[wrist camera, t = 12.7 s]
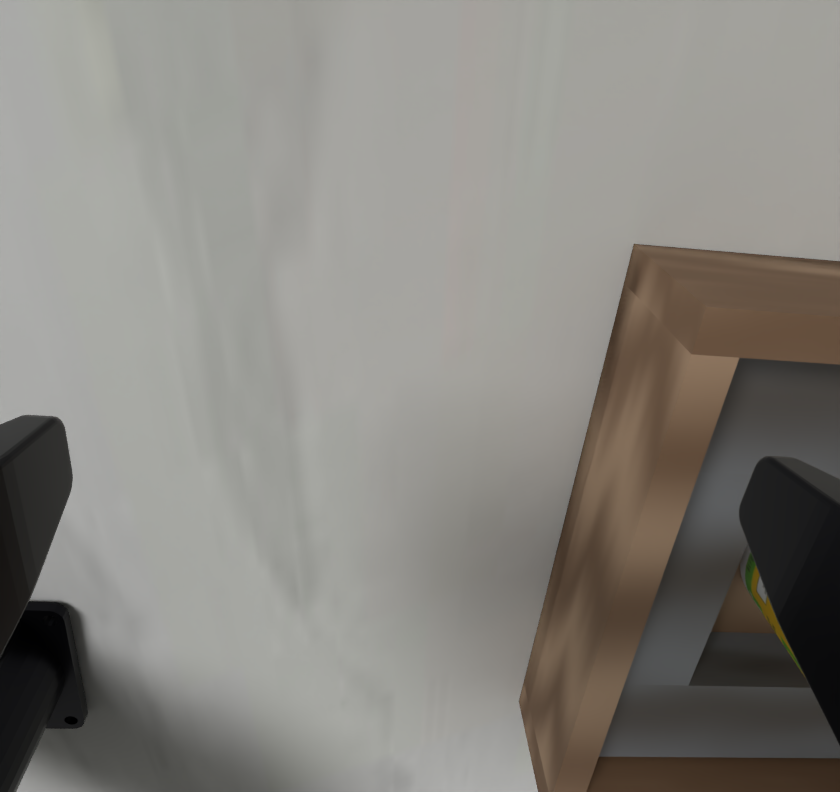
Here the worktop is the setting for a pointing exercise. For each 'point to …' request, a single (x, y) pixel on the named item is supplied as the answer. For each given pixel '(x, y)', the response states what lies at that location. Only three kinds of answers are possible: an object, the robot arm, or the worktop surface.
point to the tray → (652, 502)
